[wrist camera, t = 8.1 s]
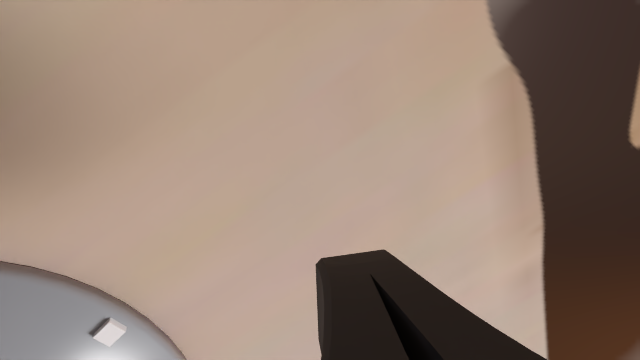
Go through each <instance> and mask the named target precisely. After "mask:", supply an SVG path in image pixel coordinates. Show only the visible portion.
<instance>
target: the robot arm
mask: <svg viewBox="0 0 640 360" xmlns="http://www.w3.org/2000/svg"><path fill="white" fill-rule="evenodd" d="M316 284H317V309H318V334H319V343H320V349H321V354H322V357H321V360H547V359H545V358H543V357H542V356H540V355H538V354H536V353H535V352H533V351H531V350H530V349H528V348H526V347H525V346H523V345H522V344H520V343H518V342H517V341H515V340H514V339H512V338H510V337H509V336H507V335H505V334H504V333H502V332H501V331H499V330H497V329H496V328H494V327H493V326H491V325H490V324H488V323H487V322H485V321H484V320H482V319H481V318H479V317H478V316H476V315H474V314H473V313H472V312H470V311H469V310H467V309H466V308H464V307H463V306H461V305H460V304H458V303H457V302H456V301H454V300H453V299H451V298H450V297H449V296H447V295H446V294H444V293H443V292H442V291H440V290H439V289H437V288H436V287H435V286H433V285H432V284H431V283H429V282H428V281H426V280H425V279H424V278H422V277H421V276H420V275H418V274H417V273H416V272H414V271H413V270H412V269H410V268H409V267H408V266H406V265H405V264H404V263H402V262H401V261H400V260H398V259H397V258H396V257H394V256H393V255H391V254H390V253H389V252H387V251H386V250H377V251H370V252H363V253H356V254H349V255H341V256H334V257H327V258H321V259H320V260H319V261H318V263H317V264H316Z"/></svg>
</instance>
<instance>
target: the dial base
mask: <svg viewBox="0 0 640 360" xmlns="http://www.w3.org/2000/svg"><path fill="white" fill-rule="evenodd" d="M0 360H186V358H185V356H184V355H183V354H182V352H181V351H180V350H179V349H178V347H177V346H176V345H175V344H174V343H173V341H172V340H171V339H170V338H169V337H168V336H167V335H166V334H165V333H164V332H163V331H162V330H161V329H159V328H158V327H157V326H156V325H155V324H154V323H153V322H152V321H151V320H149V319H148V318H147V317H145V316H144V315H142V314H141V313H139V312H138V311H136V310H135V309H133V308H132V307H131V306H129V305H128V304H126V303H124V302H122V301H120V300H118V299H117V298H115V297H113V296H111V295H109V294H107V293H105V292H103V291H101V290H99V289H97V288H94V287H92V286H89V285H87V284H84V283H82V282H79V281H77V280H74V279H71V278H69V277H66V276H62V275H59V274H55V273H51V272H48V271H44V270H41V269H37V268H33V267H28V266H22V265H16V264H11V263H5V262H0Z"/></svg>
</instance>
